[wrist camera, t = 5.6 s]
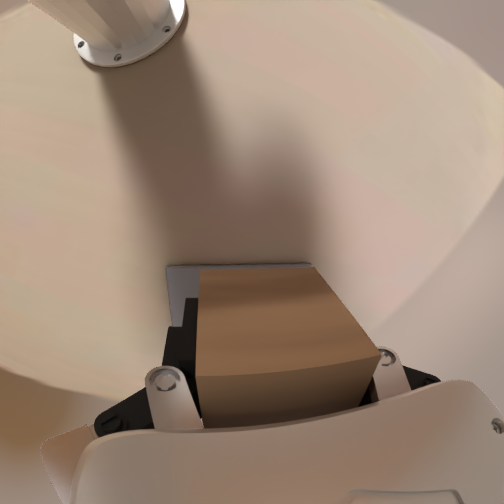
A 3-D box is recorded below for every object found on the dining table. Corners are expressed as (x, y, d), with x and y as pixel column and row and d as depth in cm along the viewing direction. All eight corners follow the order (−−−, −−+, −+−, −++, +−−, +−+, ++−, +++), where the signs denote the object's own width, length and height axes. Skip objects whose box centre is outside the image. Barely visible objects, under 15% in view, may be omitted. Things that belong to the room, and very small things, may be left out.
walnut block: (200, 269, 11) (195, 376, 6) (314, 267, 12) (382, 354, 7) (205, 357, 13) (210, 459, 8) (300, 351, 14) (338, 442, 8)
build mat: (166, 265, 29) (165, 268, 28) (309, 263, 31) (311, 265, 30) (182, 379, 35) (181, 382, 35) (291, 374, 38) (292, 376, 37)
